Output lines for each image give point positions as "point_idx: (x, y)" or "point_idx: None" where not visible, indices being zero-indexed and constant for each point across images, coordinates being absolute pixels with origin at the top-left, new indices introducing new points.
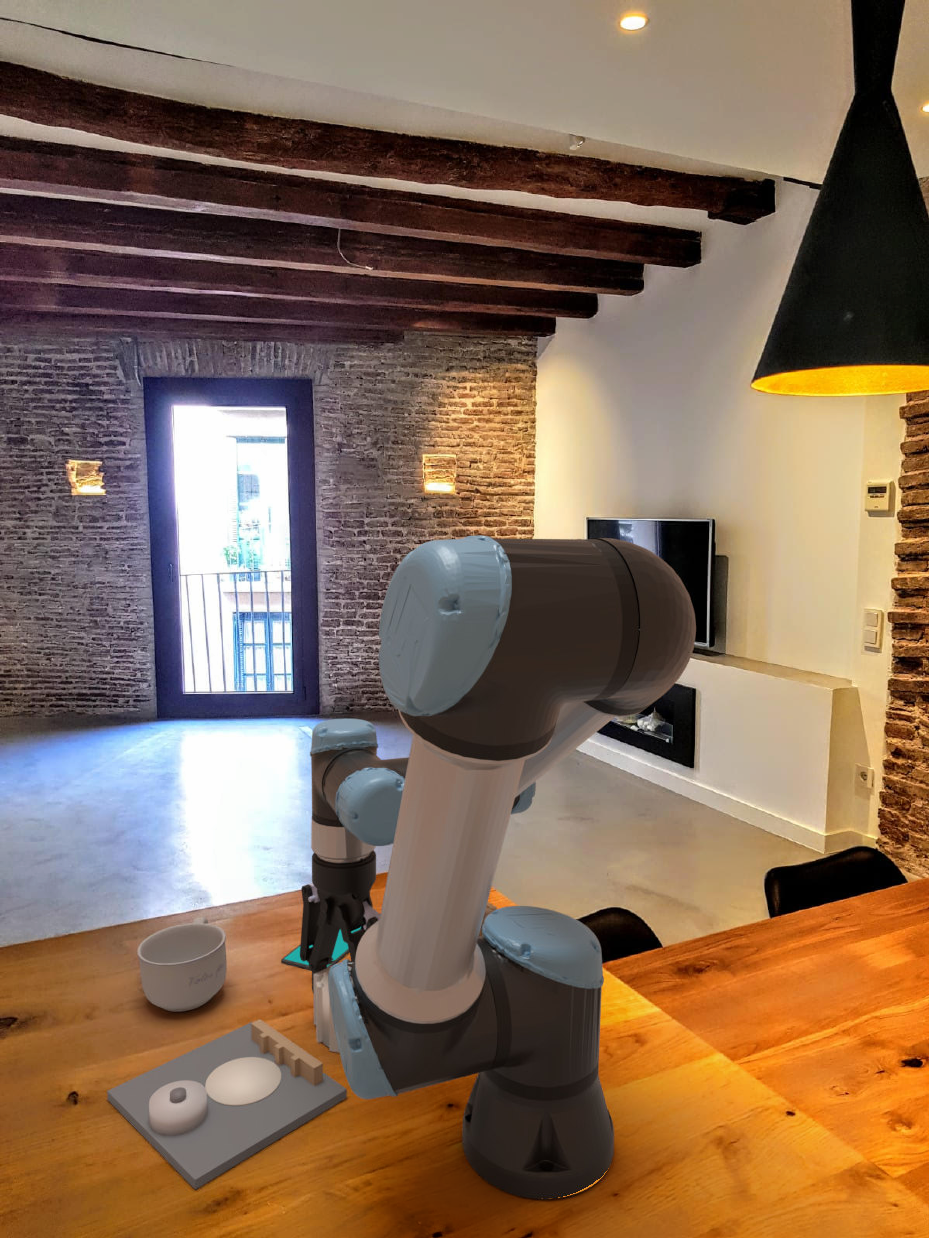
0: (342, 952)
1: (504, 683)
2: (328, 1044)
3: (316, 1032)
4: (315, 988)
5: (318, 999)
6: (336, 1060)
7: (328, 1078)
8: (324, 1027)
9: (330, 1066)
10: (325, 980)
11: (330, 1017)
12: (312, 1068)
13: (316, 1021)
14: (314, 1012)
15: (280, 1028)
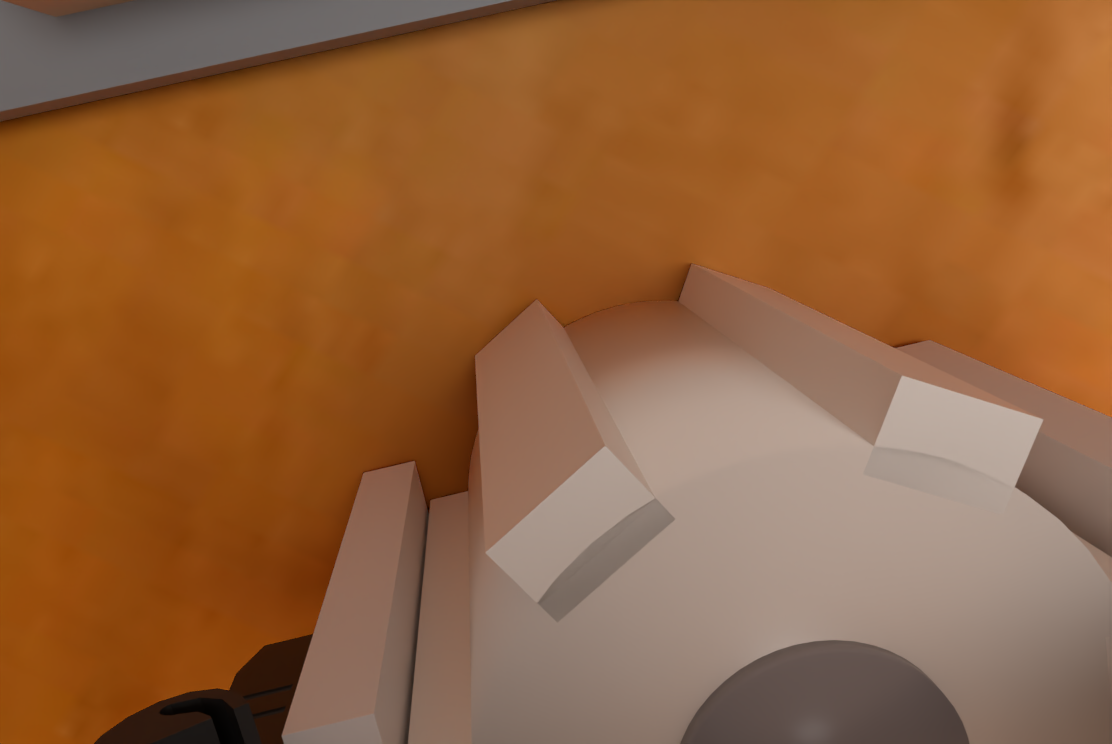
0: None
1: None
2: (592, 318)
3: (771, 291)
4: (1110, 441)
5: (820, 348)
6: (392, 293)
7: (62, 76)
8: (670, 330)
9: (344, 217)
10: (997, 556)
11: (558, 372)
12: None
13: (803, 307)
14: (970, 365)
15: (1058, 83)
